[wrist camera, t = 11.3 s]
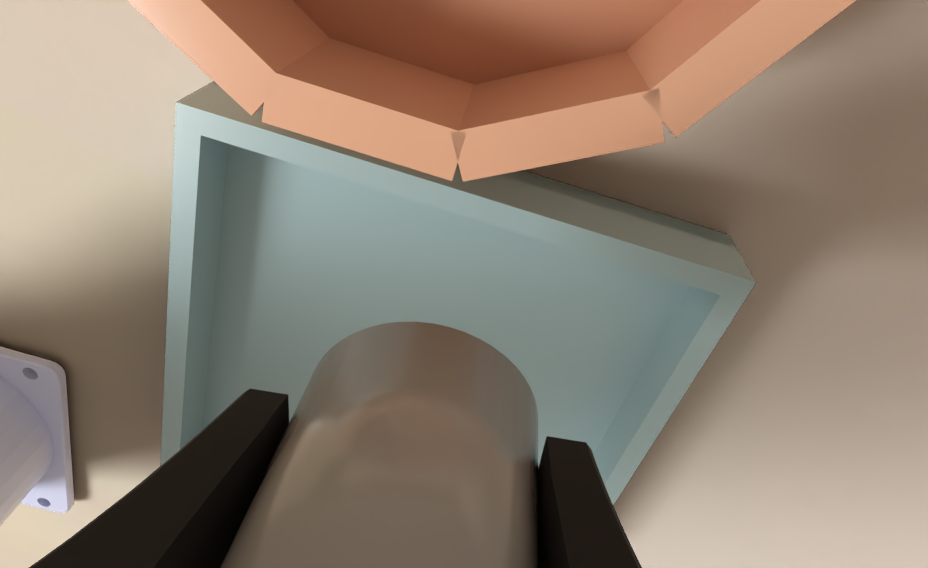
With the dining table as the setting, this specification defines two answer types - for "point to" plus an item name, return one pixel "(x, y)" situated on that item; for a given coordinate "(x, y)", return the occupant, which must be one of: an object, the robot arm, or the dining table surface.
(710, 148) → the dining table surface
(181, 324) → the parts tray
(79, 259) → the dining table surface
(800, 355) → the dining table surface
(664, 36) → the terracotta bowl
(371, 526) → the slate pebble
